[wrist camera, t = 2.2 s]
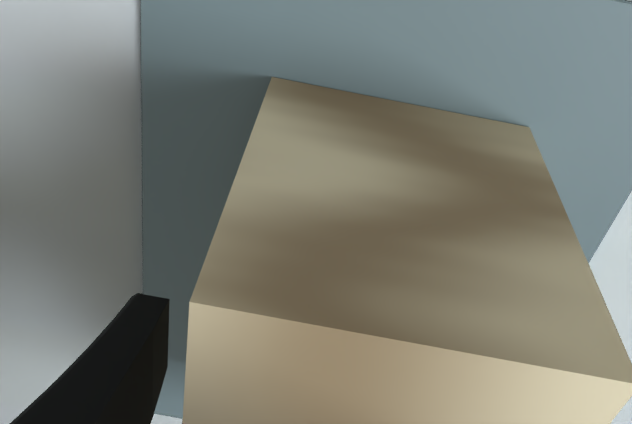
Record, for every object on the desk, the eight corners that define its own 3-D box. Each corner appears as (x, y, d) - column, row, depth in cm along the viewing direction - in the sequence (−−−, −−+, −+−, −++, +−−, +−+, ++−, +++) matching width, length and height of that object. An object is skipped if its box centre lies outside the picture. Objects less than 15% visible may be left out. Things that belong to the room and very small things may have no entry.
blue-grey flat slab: (725, 20, 10) (730, 25, 10) (465, 463, 18) (466, 469, 18) (143, -98, 10) (139, -95, 10) (145, 406, 18) (143, 412, 18)
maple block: (529, 127, 11) (640, 384, 6) (407, 407, 17) (419, 663, 12) (271, 76, 11) (189, 301, 6) (231, 375, 16) (170, 621, 12)
